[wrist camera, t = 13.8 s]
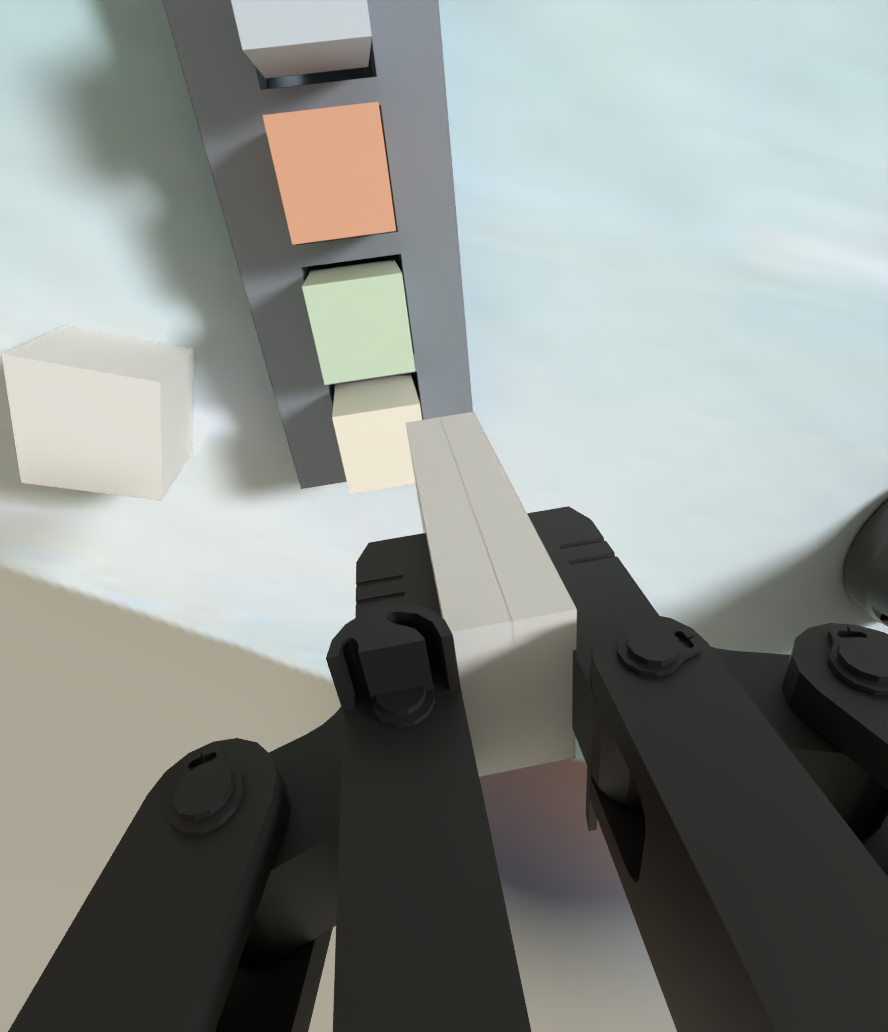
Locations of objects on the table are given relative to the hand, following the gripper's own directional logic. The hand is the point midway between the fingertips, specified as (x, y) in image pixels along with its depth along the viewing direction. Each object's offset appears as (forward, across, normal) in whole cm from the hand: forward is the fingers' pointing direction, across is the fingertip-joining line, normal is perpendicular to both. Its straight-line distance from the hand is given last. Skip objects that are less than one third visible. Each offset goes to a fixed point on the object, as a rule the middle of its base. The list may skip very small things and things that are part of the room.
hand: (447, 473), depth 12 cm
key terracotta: (+18, +2, -6) cm, 19 cm away
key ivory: (+18, +2, +5) cm, 18 cm away
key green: (+18, +2, -1) cm, 18 cm away
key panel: (+20, +2, -4) cm, 20 cm away
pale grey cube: (+20, +15, +2) cm, 25 cm away
